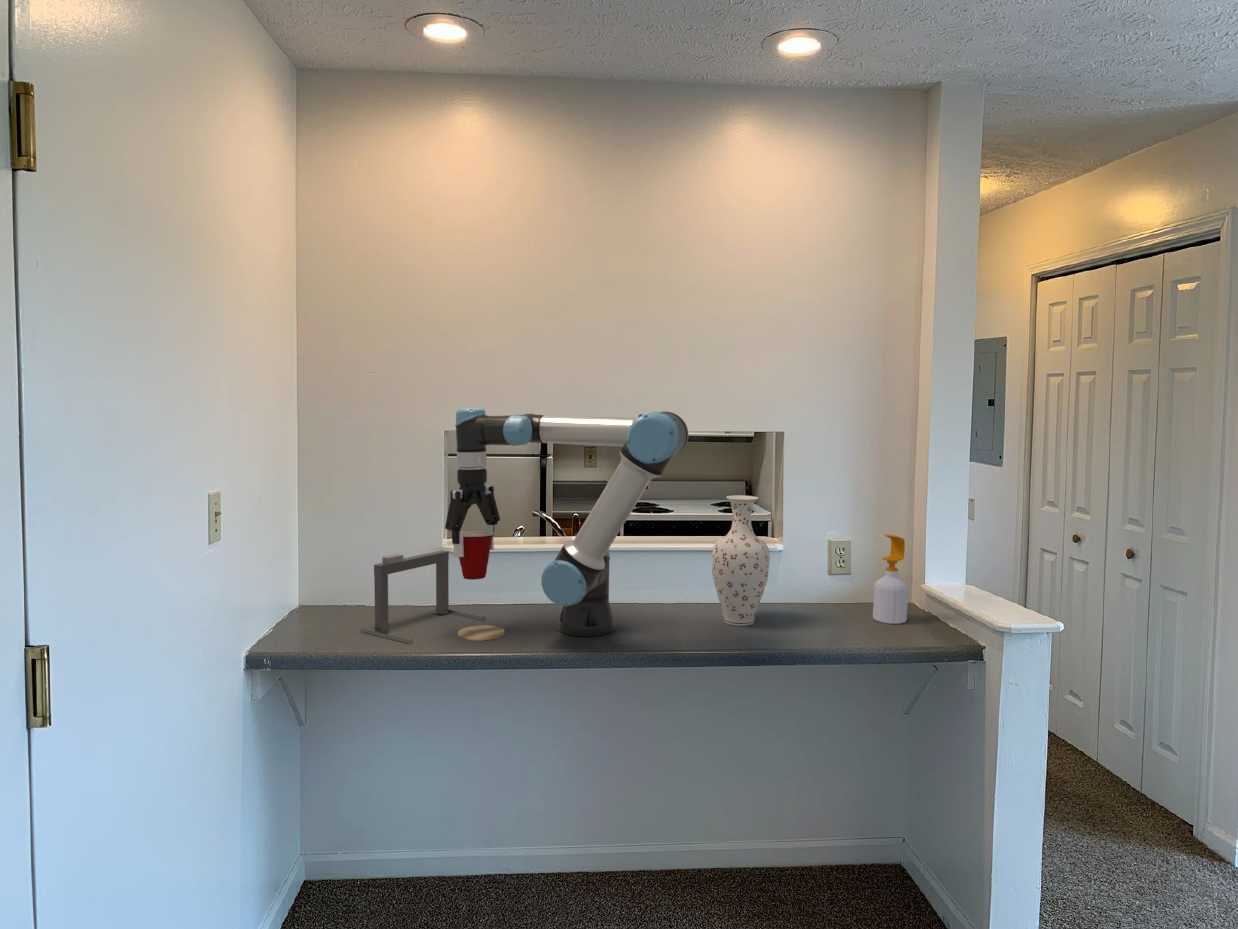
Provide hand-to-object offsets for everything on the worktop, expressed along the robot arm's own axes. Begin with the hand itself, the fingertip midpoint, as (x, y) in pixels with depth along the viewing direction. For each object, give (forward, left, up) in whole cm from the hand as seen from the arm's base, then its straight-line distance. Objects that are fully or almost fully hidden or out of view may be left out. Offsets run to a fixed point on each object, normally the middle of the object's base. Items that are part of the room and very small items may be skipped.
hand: (474, 552), depth 223 cm
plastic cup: (0, 0, -7) cm, 7 cm away
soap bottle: (-86, -78, -21) cm, 118 cm away
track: (+15, +3, -21) cm, 26 cm away
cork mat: (-2, 0, -21) cm, 21 cm away
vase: (-52, -51, -21) cm, 76 cm away
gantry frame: (+20, +3, -21) cm, 29 cm away
